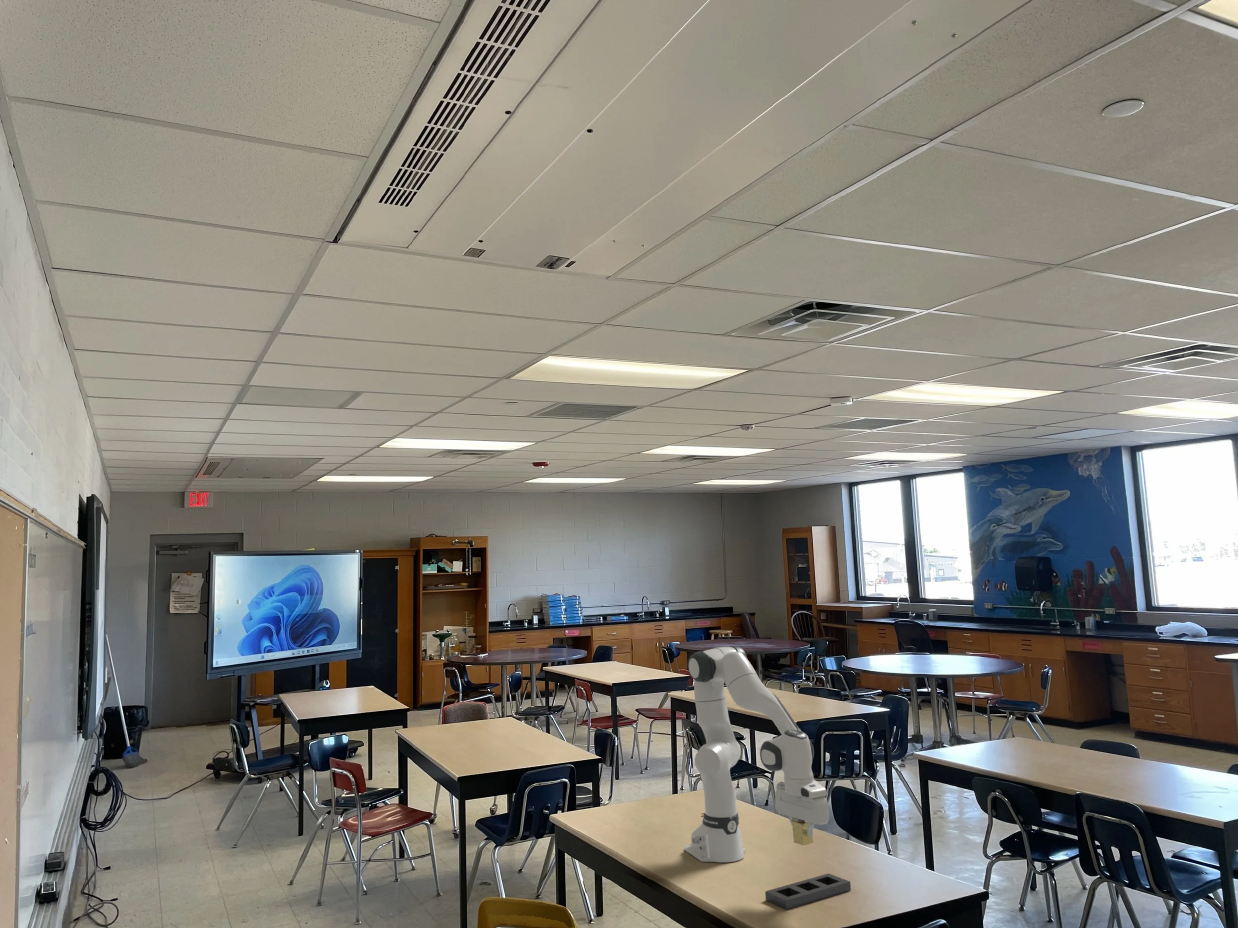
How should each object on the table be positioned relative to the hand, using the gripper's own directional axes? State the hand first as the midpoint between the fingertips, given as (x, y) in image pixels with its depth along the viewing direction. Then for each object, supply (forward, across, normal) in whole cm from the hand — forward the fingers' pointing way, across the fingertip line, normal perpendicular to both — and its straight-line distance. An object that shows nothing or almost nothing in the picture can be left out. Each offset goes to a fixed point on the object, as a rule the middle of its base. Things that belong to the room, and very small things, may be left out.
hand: (802, 833), depth 250 cm
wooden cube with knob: (+2, 0, 0) cm, 2 cm away
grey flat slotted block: (+18, 0, +1) cm, 18 cm away
